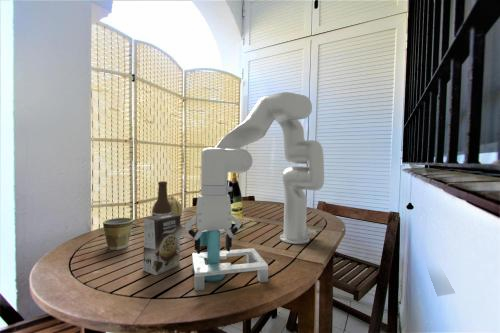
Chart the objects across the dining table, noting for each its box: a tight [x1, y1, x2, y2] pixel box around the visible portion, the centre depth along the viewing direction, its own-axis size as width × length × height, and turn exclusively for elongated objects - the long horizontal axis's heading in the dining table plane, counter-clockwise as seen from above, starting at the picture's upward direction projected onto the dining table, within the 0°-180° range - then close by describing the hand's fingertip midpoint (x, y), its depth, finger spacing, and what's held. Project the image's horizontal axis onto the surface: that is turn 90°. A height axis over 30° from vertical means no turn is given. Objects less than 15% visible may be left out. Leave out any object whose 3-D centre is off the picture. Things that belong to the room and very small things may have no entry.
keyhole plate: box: [191, 247, 269, 291], centre depth 73 cm, size 20×14×4 cm
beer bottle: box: [152, 180, 172, 216], centre depth 105 cm, size 8×8×24 cm
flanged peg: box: [204, 231, 226, 283], centre depth 71 cm, size 7×7×16 cm
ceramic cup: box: [102, 217, 134, 251], centre depth 94 cm, size 13×10×10 cm
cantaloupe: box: [150, 195, 183, 218], centre depth 124 cm, size 15×15×15 cm
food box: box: [142, 213, 182, 276], centre depth 76 cm, size 9×6×16 cm
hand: (213, 250), depth 71 cm, fingers open, 8 cm apart
